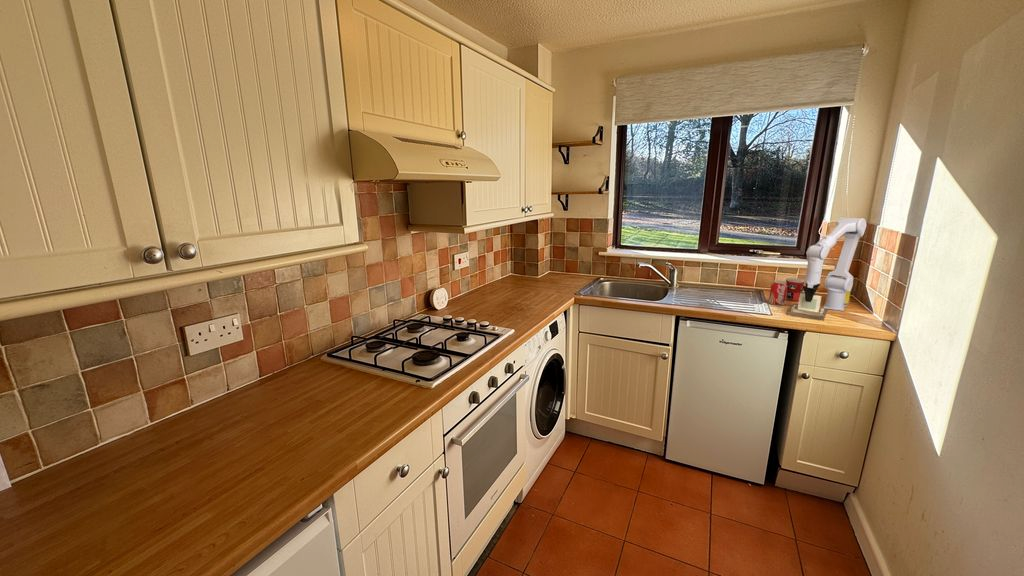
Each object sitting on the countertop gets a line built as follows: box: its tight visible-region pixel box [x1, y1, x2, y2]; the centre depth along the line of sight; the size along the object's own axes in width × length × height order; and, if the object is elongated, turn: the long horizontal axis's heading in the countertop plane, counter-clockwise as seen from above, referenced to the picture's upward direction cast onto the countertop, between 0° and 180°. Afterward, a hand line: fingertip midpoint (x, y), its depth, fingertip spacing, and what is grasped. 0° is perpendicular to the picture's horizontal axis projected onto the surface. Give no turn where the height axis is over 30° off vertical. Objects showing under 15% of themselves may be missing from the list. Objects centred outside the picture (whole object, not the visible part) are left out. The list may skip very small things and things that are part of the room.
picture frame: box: [797, 292, 822, 312], centre depth 195 cm, size 5×8×8 cm, turn 49°
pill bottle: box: [844, 289, 852, 307], centre depth 209 cm, size 6×6×12 cm
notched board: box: [786, 303, 829, 322], centre depth 197 cm, size 20×14×2 cm
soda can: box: [768, 280, 788, 307], centre depth 210 cm, size 7×7×12 cm
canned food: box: [785, 277, 805, 303], centre depth 218 cm, size 8×8×11 cm
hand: (809, 299), depth 194 cm, fingers open, 7 cm apart
